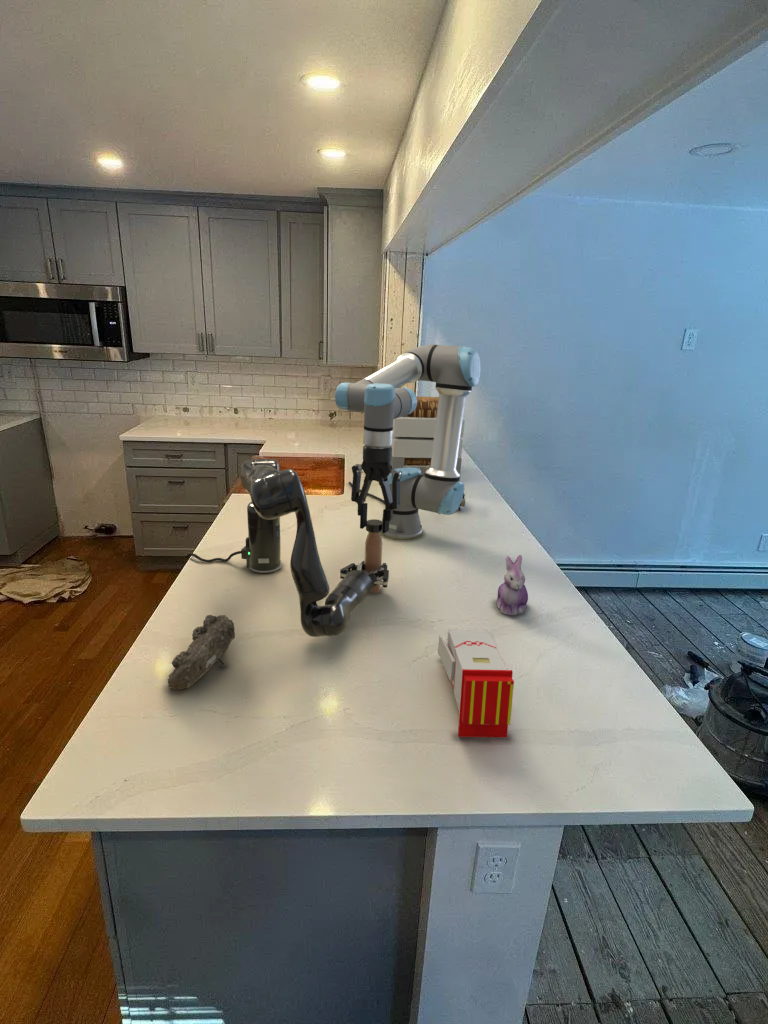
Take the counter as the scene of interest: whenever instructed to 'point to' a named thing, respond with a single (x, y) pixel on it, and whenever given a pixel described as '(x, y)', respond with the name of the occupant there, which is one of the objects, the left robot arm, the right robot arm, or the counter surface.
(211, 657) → the fossil
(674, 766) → the counter surface
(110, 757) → the counter surface
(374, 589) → the bottle
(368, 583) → the left robot arm
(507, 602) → the figurine
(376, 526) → the cap
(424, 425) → the grey slatted crate
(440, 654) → the toy
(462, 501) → the figurine character
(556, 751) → the counter surface
